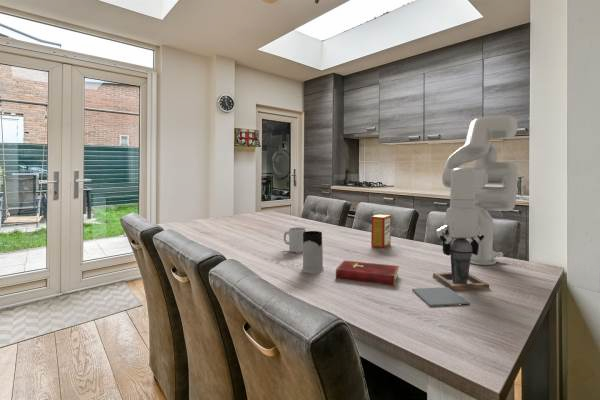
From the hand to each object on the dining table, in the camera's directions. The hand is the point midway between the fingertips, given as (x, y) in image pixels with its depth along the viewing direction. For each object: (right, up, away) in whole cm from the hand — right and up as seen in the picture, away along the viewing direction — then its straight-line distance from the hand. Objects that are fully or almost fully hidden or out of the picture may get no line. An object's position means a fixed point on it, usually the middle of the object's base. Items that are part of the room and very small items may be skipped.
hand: (460, 254), depth 106 cm
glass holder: (-49, -9, +20) cm, 54 cm away
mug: (-58, -7, +48) cm, 75 cm away
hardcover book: (-30, -11, +9) cm, 33 cm away
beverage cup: (0, -10, +1) cm, 10 cm away
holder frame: (0, -10, +1) cm, 10 cm away
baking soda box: (-13, -5, +54) cm, 56 cm away
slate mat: (-12, -11, -10) cm, 19 cm away
